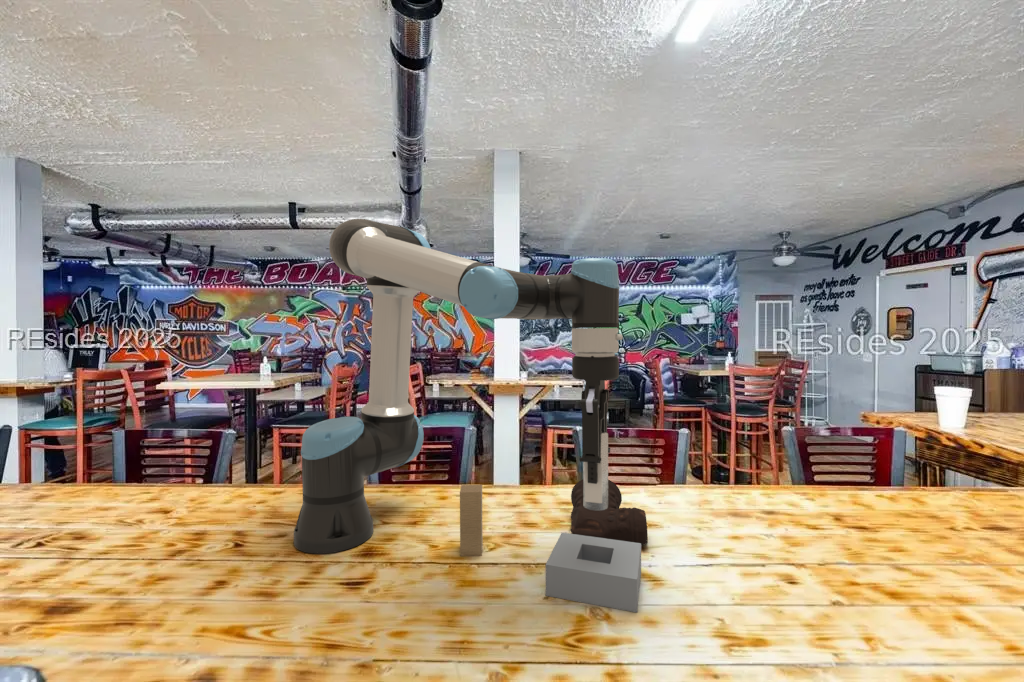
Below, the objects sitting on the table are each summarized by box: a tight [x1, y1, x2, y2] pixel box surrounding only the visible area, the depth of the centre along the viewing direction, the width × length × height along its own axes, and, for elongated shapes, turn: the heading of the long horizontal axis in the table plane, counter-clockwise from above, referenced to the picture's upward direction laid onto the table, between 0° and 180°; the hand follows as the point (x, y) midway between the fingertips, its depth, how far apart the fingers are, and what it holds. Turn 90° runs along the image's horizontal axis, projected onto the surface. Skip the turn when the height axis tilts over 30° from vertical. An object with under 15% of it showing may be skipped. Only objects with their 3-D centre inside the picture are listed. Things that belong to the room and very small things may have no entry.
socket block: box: [545, 532, 642, 613], centre depth 77 cm, size 14×12×5 cm
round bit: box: [582, 431, 609, 511], centre depth 76 cm, size 4×4×12 cm
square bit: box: [459, 484, 484, 557], centre depth 88 cm, size 4×4×12 cm
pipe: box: [570, 479, 649, 546], centre depth 96 cm, size 10×15×15 cm
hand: (595, 496), depth 76 cm, fingers closed on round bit, 4 cm apart
